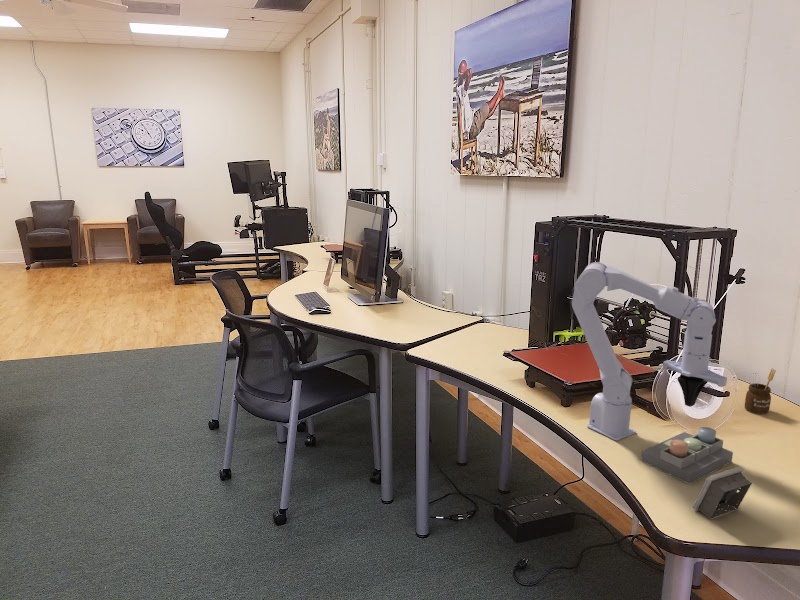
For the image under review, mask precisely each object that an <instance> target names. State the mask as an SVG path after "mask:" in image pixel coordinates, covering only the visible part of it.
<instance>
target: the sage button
mask: <svg viewBox="0 0 800 600" xmlns="http://www.w3.org/2000/svg"><path fill="white" fill-rule="evenodd" d="M684 442H686V443H687V444H688V449H690V450H692V451H695V452H698V451H700V450H701V446H702V442H701V441H700V440H698V439H695V438H686V439H684Z"/></svg>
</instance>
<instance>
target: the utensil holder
mask: <svg viewBox="0 0 800 600" xmlns="http://www.w3.org/2000/svg"><path fill="white" fill-rule="evenodd" d="M776 371H777V370H776V369H773V368H771V369H770V372H769V374H768V376H767V380H768V381H767V383H766V384H763V383H762V384H761V381H760V377H759V374H758V373H757V372H752V373H751V374H750V375H749V376H752V375H754V378H755V379H757V378H758V380H756V382H754V381H752V377H749V382H751V383H750V384H749V385H748V390H747V391H746V394H745V399H744V409H745V410H746V411H748V412H749V413H752V414H757V415H766V414H768V413H769V412H770V409H771V403H772V402H771V401H772V395H771V392H772V389H771V387H770V386H769V384H770V382H771V381H773V379H774V376H775V373H776Z"/></svg>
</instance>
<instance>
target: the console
mask: <svg viewBox="0 0 800 600" xmlns="http://www.w3.org/2000/svg"><path fill="white" fill-rule="evenodd" d="M686 438H695V439H698V433H696V434H694V435H693V434H691V433H687V432H685V431H683V432H680V433H679V434H677V435H675V436H672V437H670V438H668V439H665V440H664V441H662V442H659V443H657V444H654V445H652V446H650V447H648V448H646V449H644V450H642V451H641V457H640V458H641V459H640V461H641V462H643V463H645V464H647V465H649V466H651V467H653V468H656V469H658V470H659V471H662V472H664V473H666V474H668V475H670V476H672V477H674V478H676V479H678V480H680V481H682V482H685V483H686V484H688V485H691V484H693V483H694V482H697V481H698V480H701V479H702V478H705V477H706V476H708V475H710V474H711V473H714V472H715V471H718V470H719V469H721V468H724V467H725V466H727V465H728V464H731V463H732V462H733V455H734V452H733V451H732V450H729V449H726V448H724V446H723V445H724V439H721V438H719V437H717V436H716V437H715V442H714V443H704V442H702V446H701V450H700V451H698V452H695V451H692V450H690V449H688V450H687V456H686V457H676V456H673V455H672V454H670V452H669V450H670V441H671V440H682V441H684V439H686Z"/></svg>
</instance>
